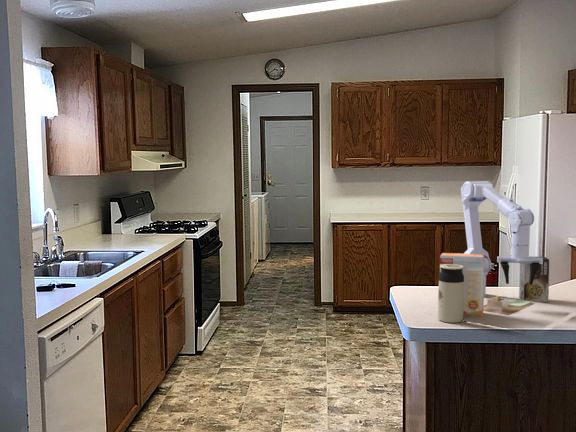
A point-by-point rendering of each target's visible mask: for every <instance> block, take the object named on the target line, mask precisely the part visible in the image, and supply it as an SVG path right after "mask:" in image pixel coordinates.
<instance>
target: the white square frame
mask: <svg viewBox="0 0 576 432" xmlns="http://www.w3.org/2000/svg"><path fill="white" fill-rule="evenodd" d="M509 299H510V298H509ZM509 299H506V298H503V297H501V301H498V300H496V296H494V297H490V298H488V299H487V302H486V305H487V310H493V311H498V312H503V311H506V310H508V305H509Z"/></svg>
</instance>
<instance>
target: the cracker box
mask: <svg viewBox="0 0 576 432" xmlns="http://www.w3.org/2000/svg"><path fill="white" fill-rule="evenodd" d="M442 264H457V265H462V266H463V267H464V268H463V270H462V273H463V275H464V304H463V316H470V317H482V318H483V315H484V311H483V306H484V305H485V304H484V301H485V300H484V299H485V298H484V297H485V296H484V255H478V254H464V253H459V252H457V253H455V252H454V253H453V252H442V253H441V254H440V256H439V273H440V272H441V267H440V265H442Z"/></svg>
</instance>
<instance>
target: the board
mask: <svg viewBox="0 0 576 432" xmlns="http://www.w3.org/2000/svg"><path fill="white" fill-rule="evenodd" d="M495 297H496V300H498V301H501V298H502V297H501V296H500V295H495ZM505 299H509V305H508V310H506V311H503V312H498V311H493V310H487V304H483V312H486V313H487V312H488V313H492V314H499V315H505V316H510V315H513V314H515V313H517V312H519V311H521V310H524V309H526V308H529V307H530V306H533V305H535V302H534V303H533V302H532V301H526V300H520V299H515V298H508V297H506V298H505Z"/></svg>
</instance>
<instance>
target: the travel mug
mask: <svg viewBox="0 0 576 432" xmlns="http://www.w3.org/2000/svg"><path fill="white" fill-rule="evenodd" d="M440 267H441V272H440V271H439V274H438V302H437V303H438V304H437V320H439V321H440V322H443V323H448V324H456V323H461V322H463V321H464V315H463V304H464V275H463V273H462V270H463V268H464V267H463V266H462V265H457V264H442V265H440V264H439V268H440Z"/></svg>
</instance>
